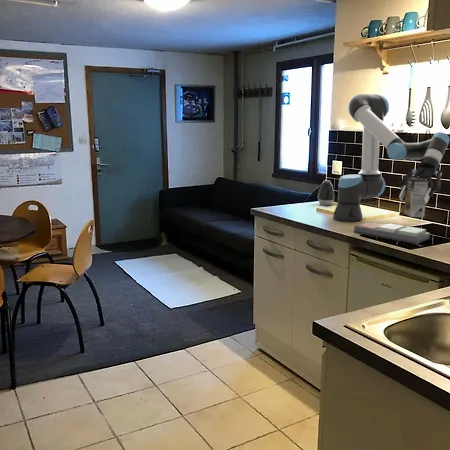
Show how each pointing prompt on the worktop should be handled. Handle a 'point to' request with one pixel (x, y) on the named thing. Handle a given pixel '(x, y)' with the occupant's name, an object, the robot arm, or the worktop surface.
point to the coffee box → (415, 197)
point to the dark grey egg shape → (326, 193)
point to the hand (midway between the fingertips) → (412, 200)
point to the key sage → (412, 231)
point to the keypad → (391, 235)
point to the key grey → (390, 227)
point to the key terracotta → (370, 225)
